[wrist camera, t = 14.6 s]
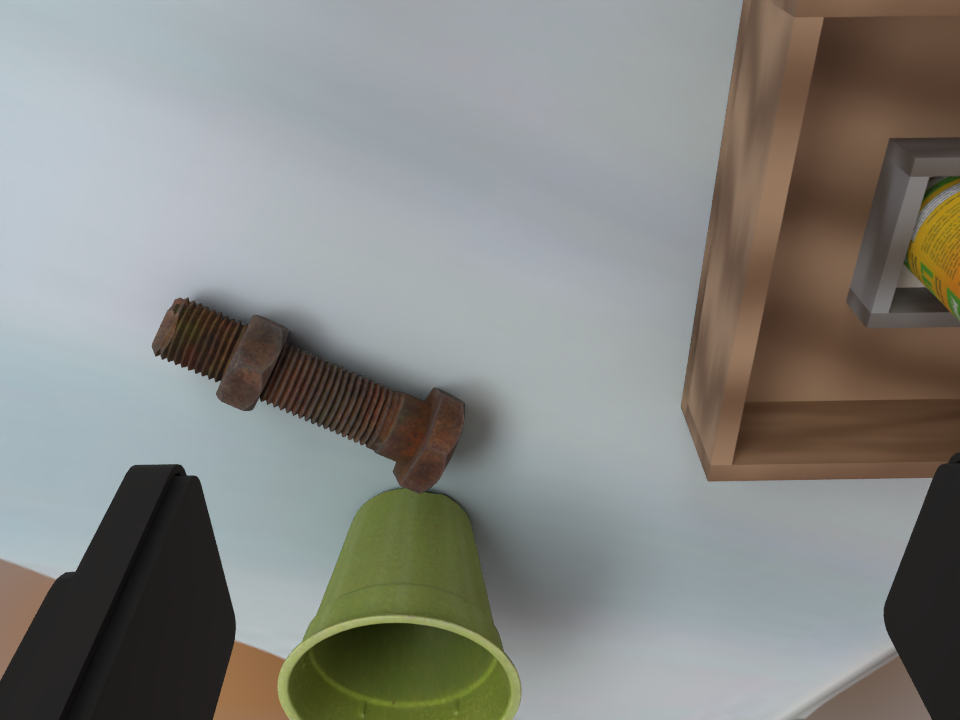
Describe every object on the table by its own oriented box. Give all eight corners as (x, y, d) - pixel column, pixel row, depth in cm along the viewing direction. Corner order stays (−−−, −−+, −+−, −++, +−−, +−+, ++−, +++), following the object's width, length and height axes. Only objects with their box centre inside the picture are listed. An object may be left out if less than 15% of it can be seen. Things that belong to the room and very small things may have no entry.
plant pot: (275, 542, 50) (231, 710, 41) (390, 420, 45) (369, 579, 36) (431, 622, 54) (424, 791, 45) (552, 519, 49) (572, 684, 40)
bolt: (193, 275, 42) (453, 394, 46) (150, 364, 42) (414, 476, 46) (178, 275, 37) (476, 411, 40) (129, 378, 37) (431, 505, 40)
